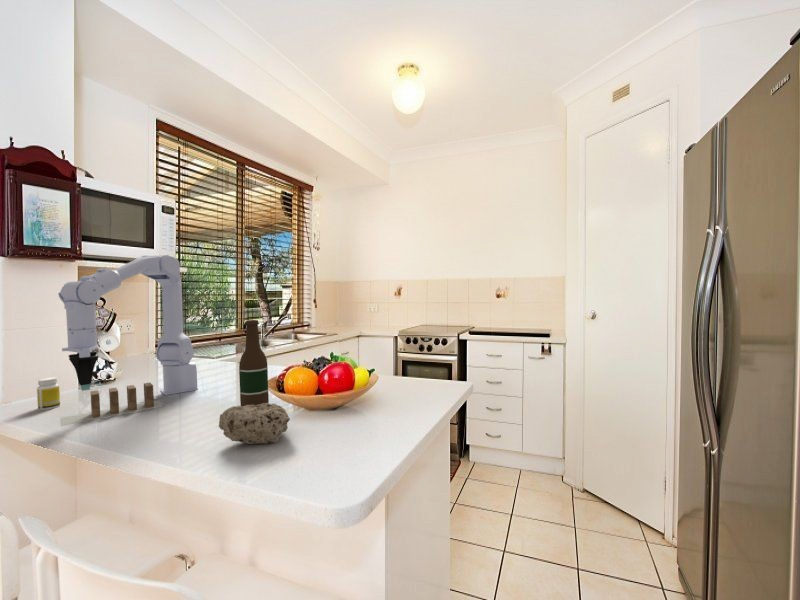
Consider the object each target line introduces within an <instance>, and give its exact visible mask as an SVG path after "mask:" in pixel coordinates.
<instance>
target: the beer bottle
mask: <svg viewBox="0 0 800 600" xmlns="http://www.w3.org/2000/svg"><path fill="white" fill-rule="evenodd" d="M259 325H260V322H259V320H258V319H249V320H245V323H244V326H245V327H246V328H245V349H244V351H243V353H242V354H241V358H240V359H239V365H238V368H239V369H238V371H239V372H238V374H239V375H238V376H239V398H240V399H239V401H240V406H246V405H258V404H263V403H269V402H270V401H269V399H270V398H269V375H268V372H269V371H268V358H267V357H266V354H265V352H264V351H263V349H262V348H261V343H260V334H259ZM269 404H270V403H269Z"/></svg>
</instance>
